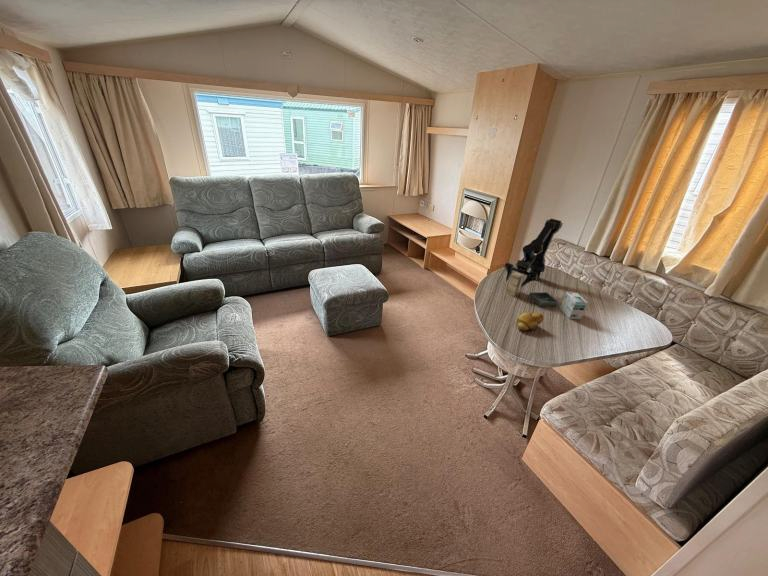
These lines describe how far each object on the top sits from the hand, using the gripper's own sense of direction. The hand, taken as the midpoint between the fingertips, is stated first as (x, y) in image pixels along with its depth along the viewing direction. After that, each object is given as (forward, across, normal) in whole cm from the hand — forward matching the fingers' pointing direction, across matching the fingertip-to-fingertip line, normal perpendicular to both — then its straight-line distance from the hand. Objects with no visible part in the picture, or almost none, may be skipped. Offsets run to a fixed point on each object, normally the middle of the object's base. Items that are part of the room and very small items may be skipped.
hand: (513, 283), depth 181 cm
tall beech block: (+4, 0, +6) cm, 7 cm away
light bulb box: (+2, +32, +9) cm, 33 cm away
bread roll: (+24, +20, -13) cm, 34 cm away
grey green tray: (0, +16, +10) cm, 19 cm away
